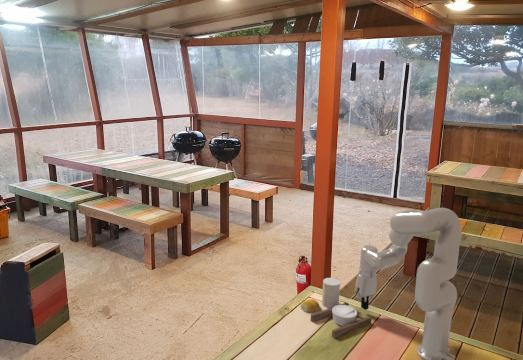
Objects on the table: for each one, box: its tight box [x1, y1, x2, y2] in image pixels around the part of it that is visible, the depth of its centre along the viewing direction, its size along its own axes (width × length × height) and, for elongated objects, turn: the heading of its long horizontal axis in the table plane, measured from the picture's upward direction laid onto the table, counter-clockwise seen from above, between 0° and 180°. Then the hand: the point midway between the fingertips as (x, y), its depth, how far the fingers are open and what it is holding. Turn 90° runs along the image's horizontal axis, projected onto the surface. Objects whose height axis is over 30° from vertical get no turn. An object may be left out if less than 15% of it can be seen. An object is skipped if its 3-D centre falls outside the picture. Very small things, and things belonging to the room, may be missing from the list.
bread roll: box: [300, 299, 320, 313], centre depth 204 cm, size 8×9×4 cm
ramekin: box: [332, 304, 358, 327], centre depth 193 cm, size 11×11×5 cm
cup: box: [321, 277, 341, 309], centre depth 207 cm, size 8×8×12 cm
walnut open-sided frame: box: [310, 302, 372, 339], centre depth 192 cm, size 16×22×3 cm
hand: (364, 308), depth 200 cm, fingers closed
